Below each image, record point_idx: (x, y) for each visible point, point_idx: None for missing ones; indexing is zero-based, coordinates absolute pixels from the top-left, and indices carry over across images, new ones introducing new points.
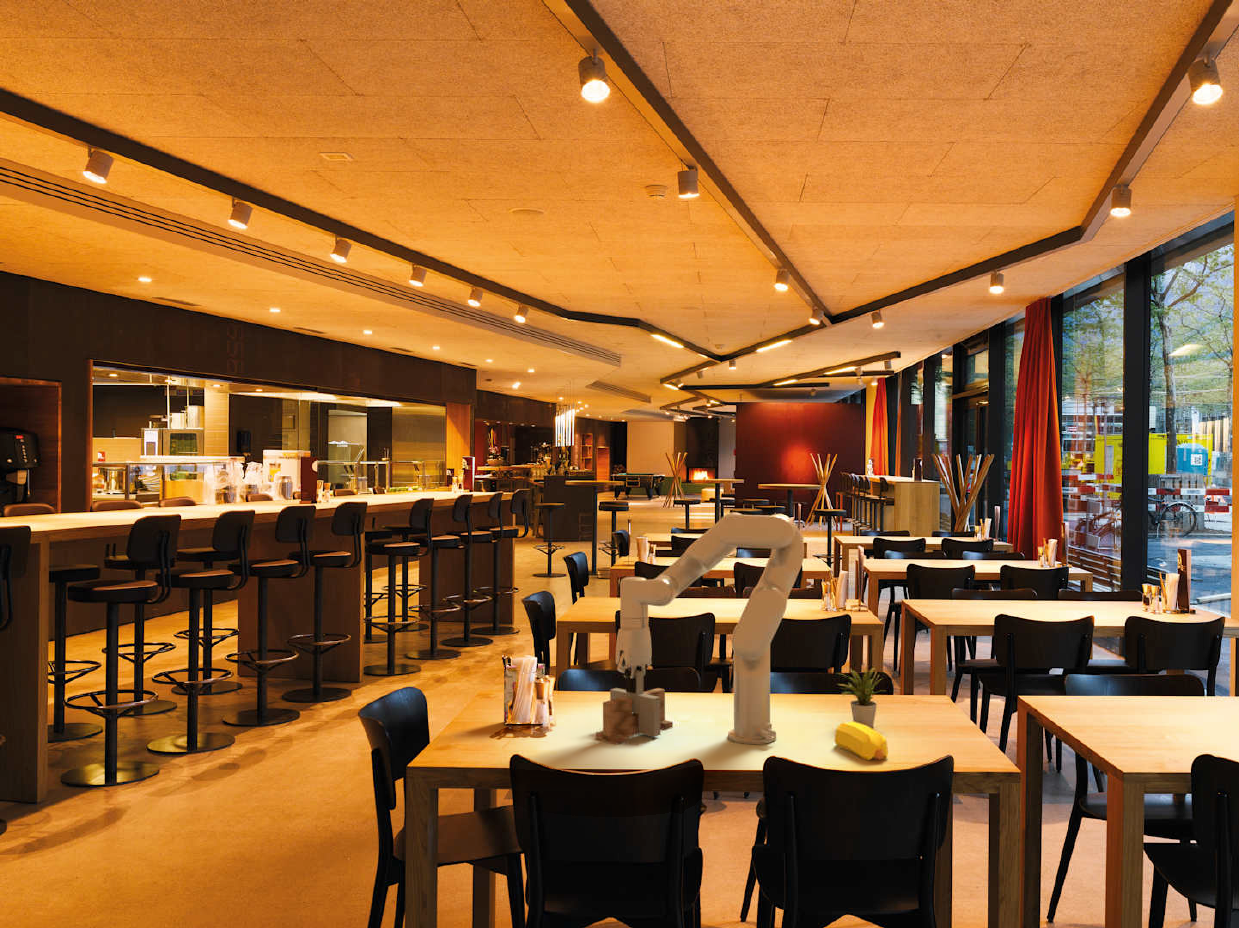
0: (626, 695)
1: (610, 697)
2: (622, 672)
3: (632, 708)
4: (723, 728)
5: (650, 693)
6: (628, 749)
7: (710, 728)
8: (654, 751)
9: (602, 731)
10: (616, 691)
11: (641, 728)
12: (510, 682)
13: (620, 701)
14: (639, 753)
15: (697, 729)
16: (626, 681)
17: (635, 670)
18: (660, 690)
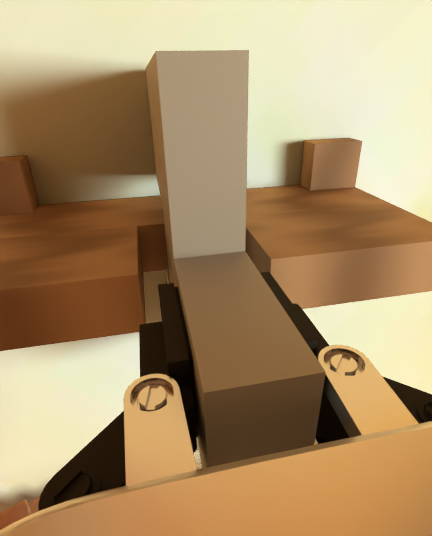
0: (172, 252)
1: (152, 59)
2: (47, 492)
3: (169, 268)
4: (403, 351)
5: (323, 305)
6: (10, 354)
7: (385, 332)
8: (75, 408)
9: (1, 171)
10: (163, 146)
11: (167, 279)
12: None
13: (24, 346)
14: (17, 401)
15: (355, 318)
16: (141, 366)
17: (292, 434)
18: (412, 292)
